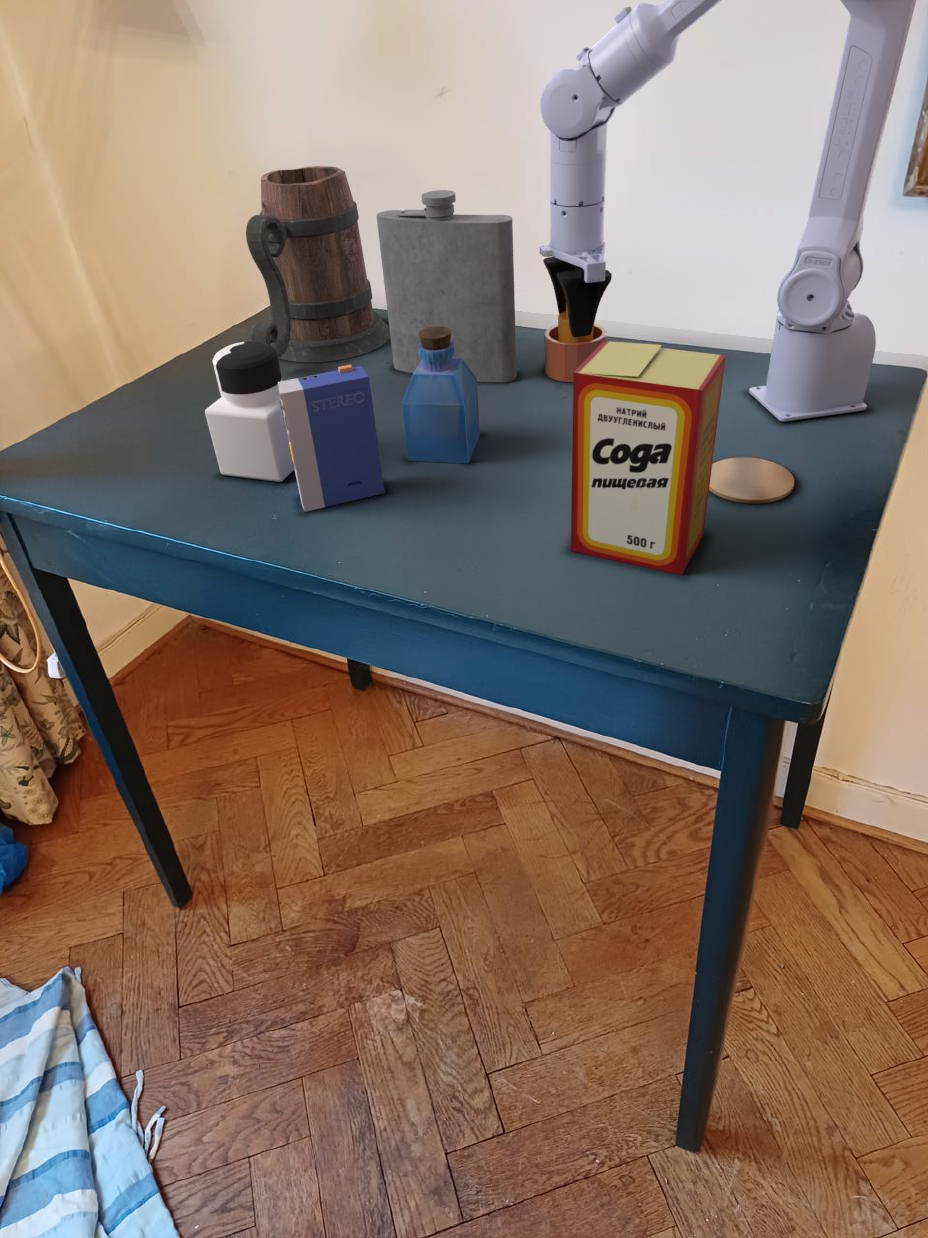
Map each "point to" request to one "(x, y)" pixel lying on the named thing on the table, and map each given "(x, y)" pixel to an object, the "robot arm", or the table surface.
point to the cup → (568, 353)
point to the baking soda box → (643, 452)
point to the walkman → (332, 436)
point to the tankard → (313, 268)
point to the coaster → (750, 480)
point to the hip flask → (450, 284)
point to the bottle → (565, 332)
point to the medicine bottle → (249, 414)
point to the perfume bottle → (440, 403)
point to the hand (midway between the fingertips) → (575, 328)
